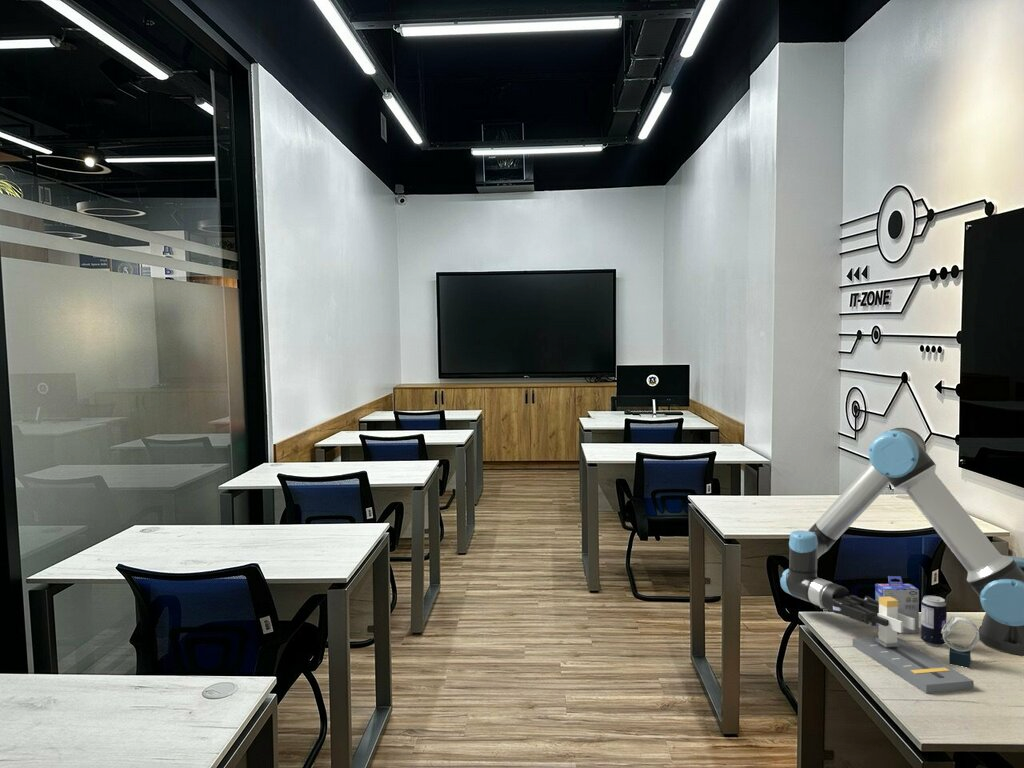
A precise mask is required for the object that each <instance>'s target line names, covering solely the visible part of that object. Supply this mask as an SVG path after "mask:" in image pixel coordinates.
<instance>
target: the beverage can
mask: <svg viewBox="0 0 1024 768" xmlns="http://www.w3.org/2000/svg"><path fill="white" fill-rule="evenodd" d="M947 608H948V607H947V603H946V599H945V598H944V597H941V596H936V595H928V594H927V595H924V596H923V598H922V600H921V614H920V622H921V623H920V639H921V640H922V641H923V642H925V643H924V644H925V645H928V646H930V647H938V648H939V647H943V646H944V645H945V644H946V643H945V641H944V639H943V634H942V633H941V630H942V628H943V627H944V625H945V624H946V623H947V618H948V617H947V613H948V610H947Z"/></svg>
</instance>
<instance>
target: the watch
mask: <svg viewBox="0 0 1024 768" xmlns="http://www.w3.org/2000/svg"><path fill="white" fill-rule="evenodd" d="M960 622H963V623H966V624H969V626H971V627H972V628H973V629H974V630H975V631H976V633H975V637H974V639H972V642H971V643H969V644H968V646H964V645H963V646H962V645H958V644H954V643H953V644H952V643H951V641H949V640H948V638H947V636H949V635H951V634H952V632H953V631H954V630H955V628H956V627H957V625H958V623H960ZM978 630H979V627H978V626H977V625H976V624H975V623H974V622H973V621H972V620H971V619H968V618H965V617H963V616H956V617H953V616H951V617H950V618H949V619H948V620H946V624H945V625H944V627H943V628H942V630H941V633H942V634H943V639H944V641H945V644H946V646H948V648H949V654H948V660H949V663H948V664H949V665H951V664H952V666H956V665H958V666H957V667H961V666H963V667H962V668H965V667H967V668H966V669H971V658H972V657H971V656H972V655H971V653H972V652H971V651H972V650H973V649H975V647H976V646H977V645H978V643H979V641H980V640H979V638H980V636H979V631H978Z"/></svg>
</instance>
